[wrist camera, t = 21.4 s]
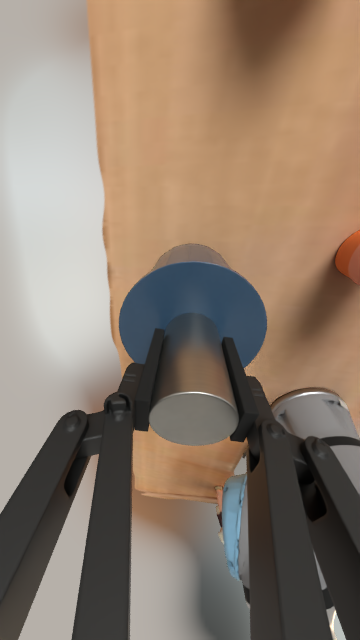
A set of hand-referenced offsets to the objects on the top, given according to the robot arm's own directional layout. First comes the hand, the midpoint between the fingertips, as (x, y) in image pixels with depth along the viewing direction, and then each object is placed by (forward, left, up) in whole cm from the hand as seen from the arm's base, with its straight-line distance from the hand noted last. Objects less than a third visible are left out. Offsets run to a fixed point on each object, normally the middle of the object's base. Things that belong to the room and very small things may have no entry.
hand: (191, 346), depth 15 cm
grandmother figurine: (-70, +27, -15) cm, 76 cm away
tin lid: (0, 0, -2) cm, 2 cm away
